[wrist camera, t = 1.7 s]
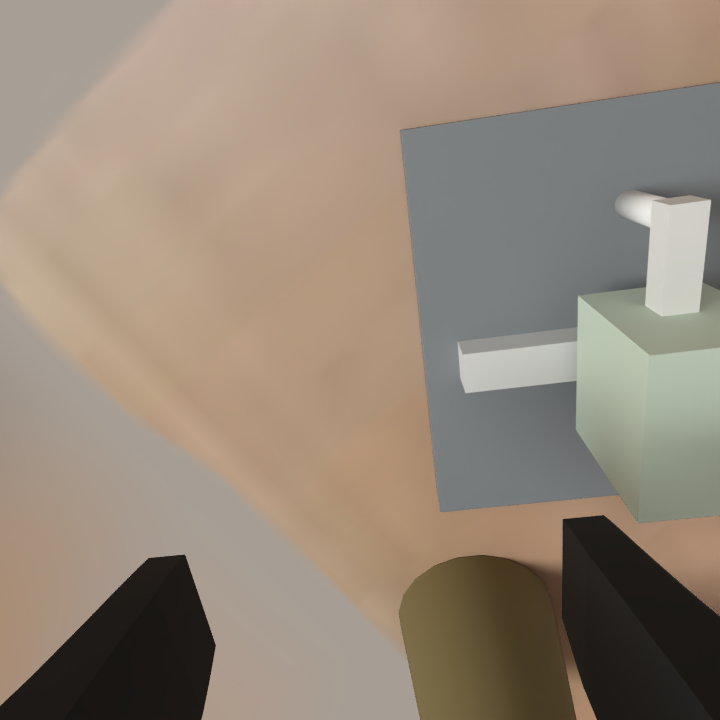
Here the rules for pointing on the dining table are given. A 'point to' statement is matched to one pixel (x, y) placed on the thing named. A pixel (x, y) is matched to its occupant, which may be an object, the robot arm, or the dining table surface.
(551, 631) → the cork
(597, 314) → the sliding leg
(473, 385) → the plate
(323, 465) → the dining table surface
